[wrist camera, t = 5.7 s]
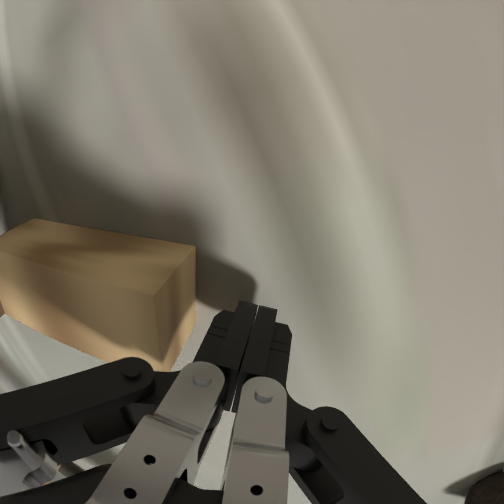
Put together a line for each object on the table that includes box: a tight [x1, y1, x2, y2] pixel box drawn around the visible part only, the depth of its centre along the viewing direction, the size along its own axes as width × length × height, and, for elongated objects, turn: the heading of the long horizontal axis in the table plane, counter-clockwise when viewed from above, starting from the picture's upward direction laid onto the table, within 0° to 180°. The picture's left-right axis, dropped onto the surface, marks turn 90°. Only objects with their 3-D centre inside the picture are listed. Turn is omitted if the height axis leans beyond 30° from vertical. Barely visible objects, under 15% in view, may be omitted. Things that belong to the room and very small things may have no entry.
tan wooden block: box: [0, 218, 196, 372], centre depth 12 cm, size 10×4×4 cm, turn 85°
